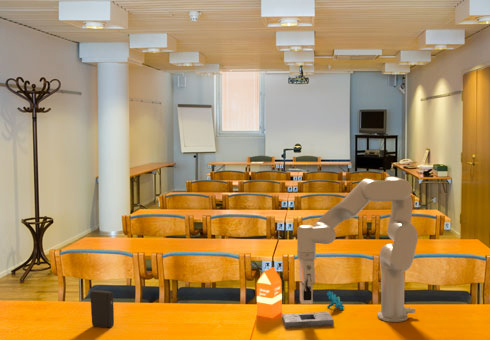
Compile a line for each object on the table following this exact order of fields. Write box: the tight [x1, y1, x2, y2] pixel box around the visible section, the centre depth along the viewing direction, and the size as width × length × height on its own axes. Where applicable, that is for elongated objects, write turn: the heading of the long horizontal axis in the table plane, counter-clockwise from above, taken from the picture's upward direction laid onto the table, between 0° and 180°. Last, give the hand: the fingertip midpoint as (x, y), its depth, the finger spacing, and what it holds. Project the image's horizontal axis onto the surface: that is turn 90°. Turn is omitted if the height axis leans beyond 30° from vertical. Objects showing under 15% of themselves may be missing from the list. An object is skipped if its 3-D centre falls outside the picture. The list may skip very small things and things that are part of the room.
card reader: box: [90, 289, 115, 328], centre depth 252 cm, size 9×4×15 cm, turn 71°
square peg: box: [299, 281, 314, 305], centre depth 250 cm, size 4×4×8 cm
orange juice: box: [256, 266, 283, 319], centre depth 263 cm, size 8×9×20 cm
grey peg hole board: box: [281, 311, 335, 329], centre depth 251 cm, size 20×10×2 cm, turn 95°
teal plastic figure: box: [326, 291, 345, 311], centre depth 270 cm, size 11×6×10 cm
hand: (306, 297), depth 251 cm, fingers closed on square peg, 4 cm apart
